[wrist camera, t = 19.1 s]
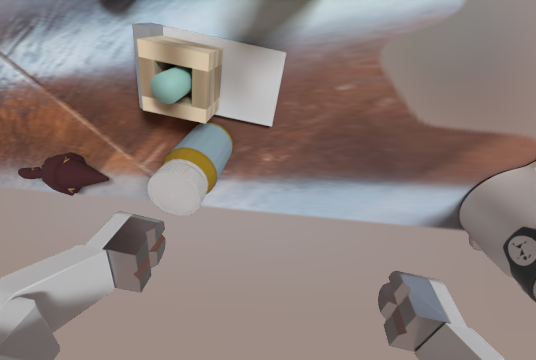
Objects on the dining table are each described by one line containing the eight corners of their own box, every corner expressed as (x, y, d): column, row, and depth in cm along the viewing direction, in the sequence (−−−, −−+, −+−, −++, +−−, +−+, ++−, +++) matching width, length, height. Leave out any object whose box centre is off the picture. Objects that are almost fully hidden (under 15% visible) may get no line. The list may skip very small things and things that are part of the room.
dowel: (205, 87, 36) (181, 105, 29) (182, 85, 36) (153, 102, 29) (203, 62, 35) (177, 74, 27) (180, 60, 35) (148, 72, 27)
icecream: (86, 162, 39) (5, 151, 41) (93, 207, 41) (15, 194, 44) (120, 153, 46) (48, 144, 48) (124, 192, 48) (55, 182, 50)
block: (223, 48, 33) (208, 54, 28) (218, 109, 37) (205, 123, 32) (162, 35, 33) (136, 38, 28) (164, 97, 37) (143, 110, 32)
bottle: (210, 167, 45) (173, 227, 32) (182, 134, 42) (130, 185, 29) (242, 148, 42) (216, 205, 29) (215, 112, 39) (173, 157, 27)
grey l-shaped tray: (286, 52, 34) (284, 56, 30) (272, 124, 39) (269, 135, 35) (151, 22, 34) (132, 23, 30) (155, 99, 39) (139, 107, 35)
